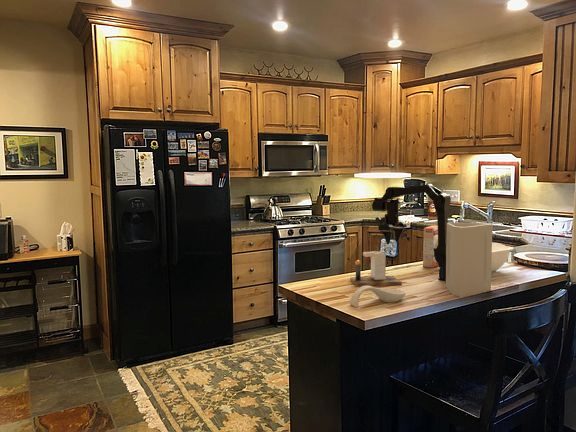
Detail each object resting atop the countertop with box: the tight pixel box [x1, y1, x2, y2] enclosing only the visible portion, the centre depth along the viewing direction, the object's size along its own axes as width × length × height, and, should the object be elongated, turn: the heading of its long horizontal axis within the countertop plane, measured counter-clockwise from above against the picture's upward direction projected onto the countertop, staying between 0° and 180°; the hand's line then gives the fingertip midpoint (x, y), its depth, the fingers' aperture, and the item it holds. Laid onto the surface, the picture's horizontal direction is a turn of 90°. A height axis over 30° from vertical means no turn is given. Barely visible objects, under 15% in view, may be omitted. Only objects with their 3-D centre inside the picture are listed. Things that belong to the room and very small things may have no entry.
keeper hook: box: [354, 259, 362, 280], centre depth 210 cm, size 3×3×9 cm
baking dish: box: [491, 242, 514, 273], centre depth 233 cm, size 34×28×13 cm
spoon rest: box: [349, 286, 407, 308], centre depth 180 cm, size 24×12×7 cm, turn 118°
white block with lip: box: [362, 250, 387, 280], centre depth 211 cm, size 9×6×12 cm, turn 96°
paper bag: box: [445, 222, 493, 298], centre depth 195 cm, size 19×15×28 cm
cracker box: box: [422, 225, 439, 269], centre depth 247 cm, size 14×6×21 cm, turn 143°
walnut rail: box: [349, 275, 403, 288], centre depth 212 cm, size 20×12×2 cm, turn 96°
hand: (392, 243), depth 232 cm, fingers open, 9 cm apart
